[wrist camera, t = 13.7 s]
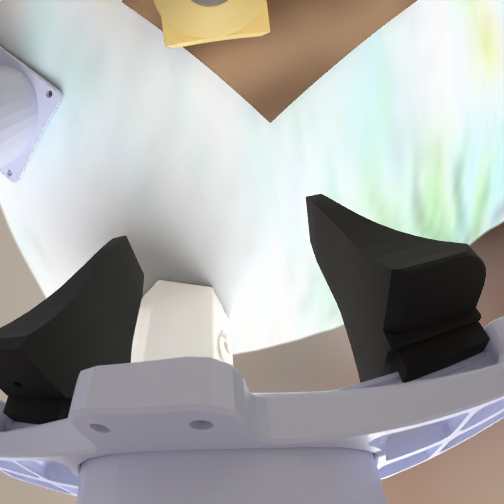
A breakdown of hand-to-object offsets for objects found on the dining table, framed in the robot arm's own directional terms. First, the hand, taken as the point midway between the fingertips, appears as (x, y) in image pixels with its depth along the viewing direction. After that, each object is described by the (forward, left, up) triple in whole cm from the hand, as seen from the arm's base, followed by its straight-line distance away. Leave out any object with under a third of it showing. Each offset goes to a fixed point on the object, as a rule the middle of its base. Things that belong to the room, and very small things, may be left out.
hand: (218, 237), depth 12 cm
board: (-6, +11, -10) cm, 16 cm away
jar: (+7, -13, -10) cm, 18 cm away
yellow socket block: (-7, +7, -8) cm, 13 cm away
